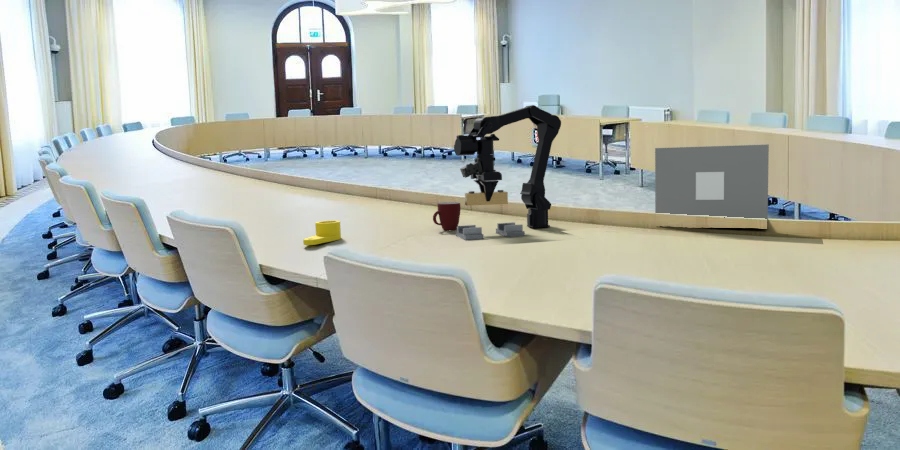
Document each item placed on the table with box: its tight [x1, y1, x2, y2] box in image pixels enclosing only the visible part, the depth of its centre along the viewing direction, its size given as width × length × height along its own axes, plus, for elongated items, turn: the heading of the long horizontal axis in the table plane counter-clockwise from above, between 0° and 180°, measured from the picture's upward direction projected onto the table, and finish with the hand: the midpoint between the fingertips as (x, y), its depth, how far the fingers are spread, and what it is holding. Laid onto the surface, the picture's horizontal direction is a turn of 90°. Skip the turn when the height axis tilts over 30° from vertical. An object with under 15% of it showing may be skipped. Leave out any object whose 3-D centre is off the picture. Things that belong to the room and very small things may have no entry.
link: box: [464, 189, 509, 207], centre depth 234 cm, size 14×4×5 cm, turn 97°
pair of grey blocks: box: [455, 221, 526, 241], centre depth 229 cm, size 20×12×4 cm, turn 104°
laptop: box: [654, 144, 770, 219], centre depth 239 cm, size 35×26×27 cm
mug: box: [432, 201, 461, 231], centre depth 244 cm, size 11×8×10 cm
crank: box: [303, 220, 342, 246], centre depth 233 cm, size 18×8×6 cm, turn 160°
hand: (486, 200), depth 235 cm, fingers closed on link, 4 cm apart
